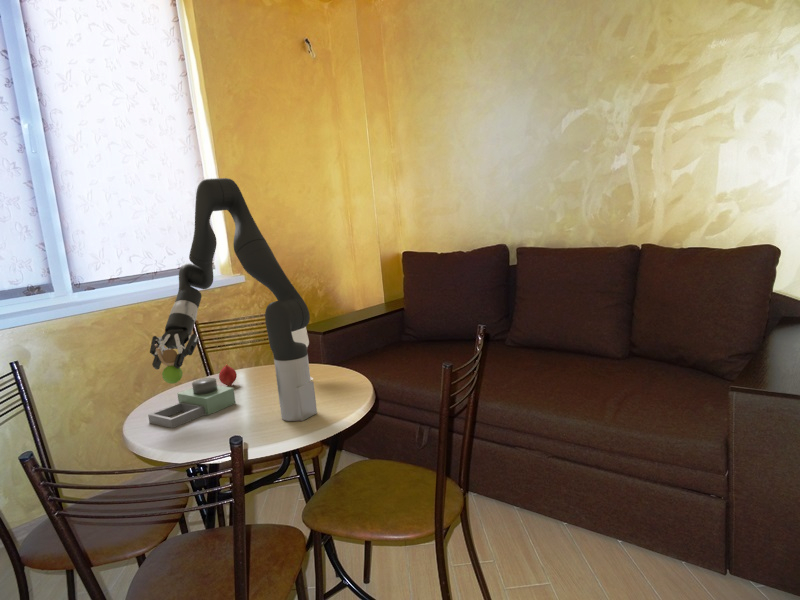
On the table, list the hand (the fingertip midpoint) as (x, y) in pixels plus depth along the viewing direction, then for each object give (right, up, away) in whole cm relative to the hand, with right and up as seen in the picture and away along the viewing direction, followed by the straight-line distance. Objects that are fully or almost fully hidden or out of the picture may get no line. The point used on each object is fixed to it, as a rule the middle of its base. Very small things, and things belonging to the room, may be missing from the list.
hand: (166, 367), depth 147 cm
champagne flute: (+33, -9, +32) cm, 47 cm away
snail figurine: (+1, -5, +3) cm, 6 cm away
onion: (+8, -11, +32) cm, 34 cm away
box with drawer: (+4, -15, +8) cm, 17 cm away
